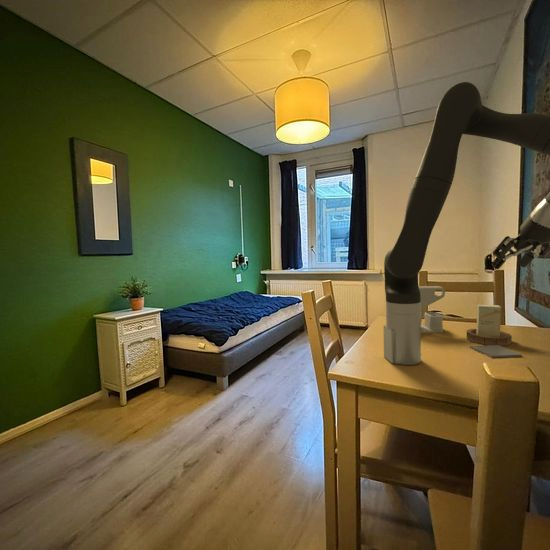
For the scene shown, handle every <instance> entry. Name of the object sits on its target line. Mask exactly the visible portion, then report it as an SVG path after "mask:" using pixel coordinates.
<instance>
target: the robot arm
mask: <svg viewBox="0 0 550 550" xmlns="http://www.w3.org/2000/svg"><path fill="white" fill-rule="evenodd" d="M431 130H432V131H431V133H430V137H429V141H428V143H427V146H426V148H425V150H424V154H423V156H422V158H421V162H420V164H419V167H418V169H417V173H416V175H415V177H414V180H413V182H412V185H411V188H410V191H409V195H408V198H407V203H406V209H405V214H404V221H403V225H402V227H401V230H400V233H399V235H398V238H397V239H396V242H395V244H394V245H393V248H391V249H390V250H389V251H388V252H387V253H386V255H385V256H384V265H383V267H384V268H383V269H384V272H383V273H384V293H385V325H383V357H384V358H385V359H387V361H389V362H390V363H391V364H396V365H405V366H414V365H419V364H420V363H421V361H422V353H421V351H422V349H421V347H422V343H421V342H422V337H421V336H422V335H421V334H422V333H421V325H422V321H421V294H420V290H419V286H420V285H419V273H420V271H421V270H422V269H423V268H422V267H423V266H424V261H425V257H426V253H427V249H428V246H429V242H430V238H431V235H432V232H433V229H434V228H435V225H436V223H437V220H438V218H439V216H440V214H441V212H442V210H443V208H444V205H445V202H446V200H447V197H448V195H449V194H450V190H451V187H452V185H453V181H454V178H455V174H456V168H457V162H458V154H459V153H458V152H459V147H460V144H461V143H460V142H461V139H462V136H463V135H468V136H474V137H475V136H476V137H481V138H487V139H491V140H496V141H501V142H505V143H509V144H511V145H515V146H519V147H521V148H525V149H528V150H530V151H535V152H536V153H540V154H544V155H548V156H550V115H549V114H545V113H535V112H531V113H527V112H526V113H506V112H501V111H497V110H494V109H493V108H492V109H491V108H490V107H488V106H485V105H483V103H482V96H481V93H480V90H479V89H478V88H477V86H476V85H475V84H474V83H472V82H469V81H462V82H459V83H456V84H454V85H453V86H451V87H450V88H449V89H448V90H447V91H446V92H445V93H444V94H443V96H442V98H440V101H439V103H438V106H437V109H436V114H435V118H434V122H433V126H432V129H431ZM519 230H520V231H519V234H518V235H517V236H515V237H513V238H511V237H510V236H509V235H506V236H505V237H504V238H503V239H502V240H501V242H500V243H499V244H498V245H497V246H496V248H495V249H494V250H493V251H492V254H493V255H494V256H495V259H493V261H492V262H491V267H492V268H493V269H494V270H500V269H501V267H502V266H503V265H504V264H505V263H506V262H507V260H508V259H509V258H510V259H511V258H512V257H517V256H518V255H520V254H522V253H524V255H523V256H522V257H521V258H520V259H519V260H518V263H517V264H518V265H519V266H520V267H522V268H527V266H528V265H530V264H531V262H532V261H533V260H534V259H537V258H538V257H539V256H541V257H544V256H545V255H547V254H548V253H549V251H550V191H549V192H548V193H547V194H546V196H545V197H544V198H543V199H542V200H541V201H540V202H539V203H538V204H537V205H536V206H535V207H534V209H533V210H532V211H531V213H530V214H529V215H528V216H527V217H526V219H525V220H524V222H522V223H521V225H520V227H519ZM512 248H513V249H514V250H513V249H512ZM542 248H544V249H542Z"/></svg>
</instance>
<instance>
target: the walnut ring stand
mask: <svg viewBox="0 0 550 550" xmlns="http://www.w3.org/2000/svg"><path fill="white" fill-rule="evenodd" d="M476 330H477V328H469V329H466V340H468V341H470V342H472V343H475V344H479V345H499V346H502V347H504V346H509V345H512V341H513V340H512V339H513V338H512V334H511V333H509V332H506V331H502V330H500V337H487V336H481V335H476Z"/></svg>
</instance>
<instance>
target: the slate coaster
mask: <svg viewBox="0 0 550 550" xmlns="http://www.w3.org/2000/svg"><path fill="white" fill-rule="evenodd" d="M469 348H470V349H471V348H472V350H473V349H474V350H473V351H476V352H477V353H480V352H481V353H480V354H482V353H483V354H482V355H484V354H486V355H488V356H490V357H495V358H517V357H518V358H521V357H523V354H522V353H519V352H517V351H515V350H514V351H513V350H511V349H509V348H507V347H504V346H499V345H485V344H483V345H470V346H469ZM486 355H485V356H486ZM488 356H487V357H488ZM490 357H489V358H490Z"/></svg>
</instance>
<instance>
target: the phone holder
mask: <svg viewBox="0 0 550 550" xmlns="http://www.w3.org/2000/svg"><path fill="white" fill-rule="evenodd" d="M419 290H420V294H421V322H422V321H423V320H422V319H423V314H424V324H421V334H423V333H424V334H427V333H428V334H429V333H431V334H432V333H433V334H442V333H443V334H444V330H443V326H444V325H443V319H444V317H443V315H442V314H439V313H438V312H436V311H425V312H424V309H425V308H427V307H428V306H430V305H432V304H434V303H436V302H438V301H439V300H441V299H443V298H444V297H445V294H446V290H445V289H444V288H443V287H442V286H440V285H424V286H423V285H419ZM438 290H439V291H441V293H439V294H437V295H436V291H438Z"/></svg>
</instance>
